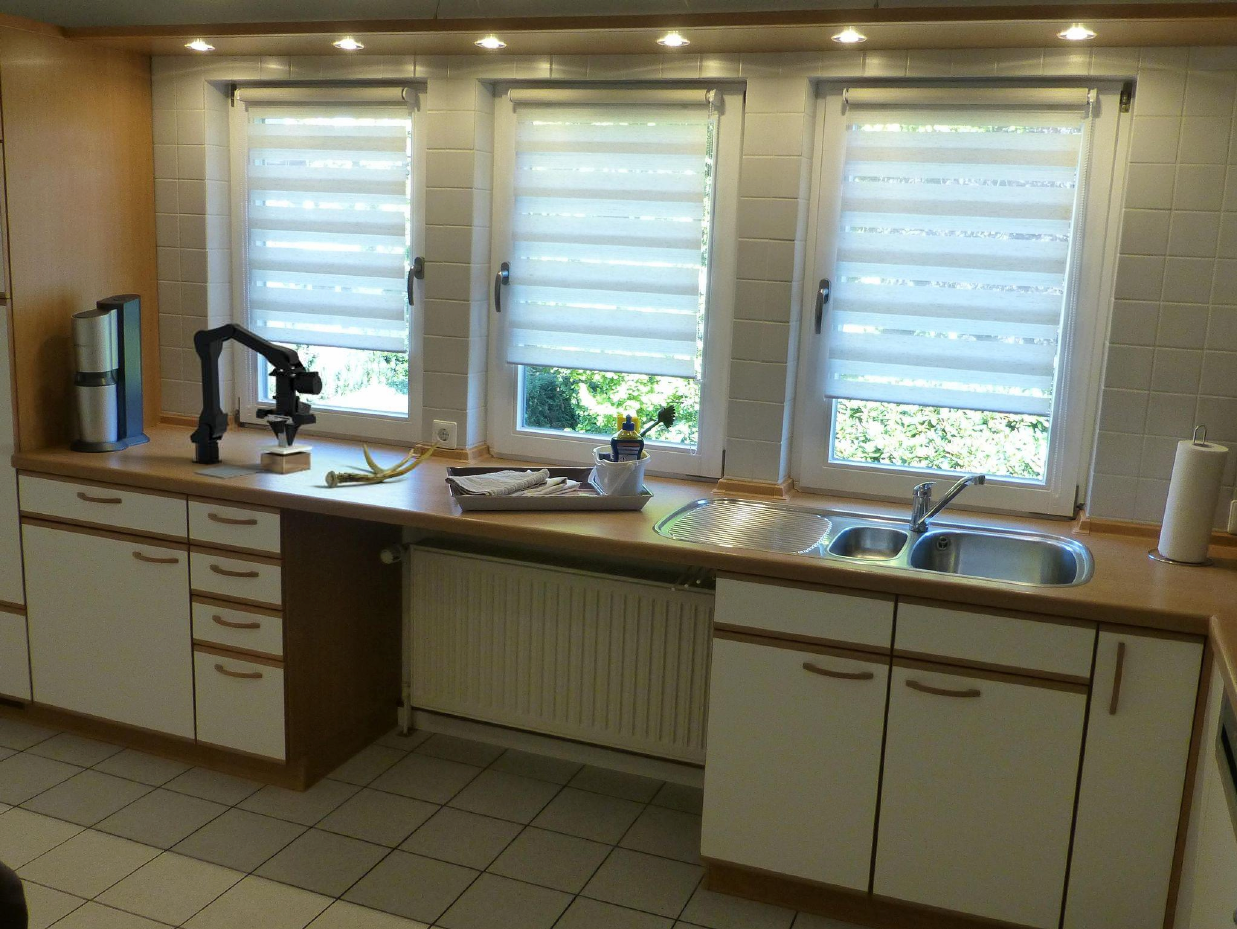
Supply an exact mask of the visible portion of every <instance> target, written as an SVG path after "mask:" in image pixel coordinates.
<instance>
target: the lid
mask: <svg viewBox="0 0 1237 929" xmlns="http://www.w3.org/2000/svg"><path fill="white" fill-rule="evenodd" d="M277 441H278V443H276V444H275V443H274V444H270V445H264V446H259V447H258V449H259V451H263V452H264V451H265V452H275V453H280V454H287V453H292V452H298V451H303V452H305V451H307V450H313V446H311V445H306V444H301V443H294V442H293V444H292V446H288V442H287V438H286V432H285V431H284V433H278V439H277Z"/></svg>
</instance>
